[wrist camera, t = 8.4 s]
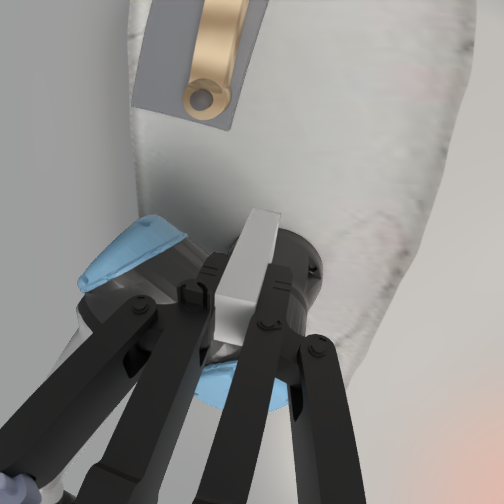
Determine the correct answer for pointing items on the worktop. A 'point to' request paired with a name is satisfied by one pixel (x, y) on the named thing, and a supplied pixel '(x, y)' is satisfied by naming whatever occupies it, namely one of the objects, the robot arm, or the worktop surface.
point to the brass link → (214, 58)
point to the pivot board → (185, 58)
